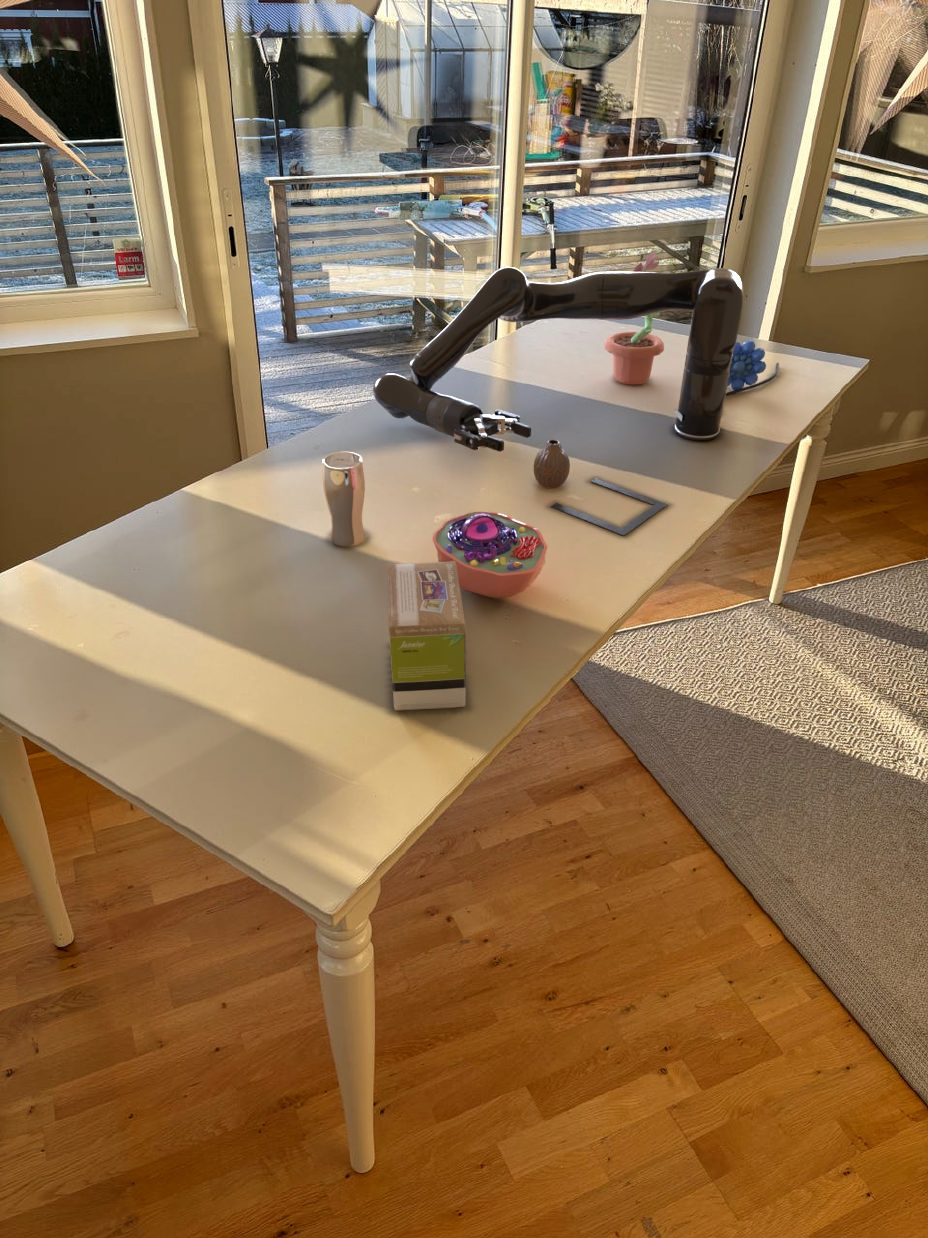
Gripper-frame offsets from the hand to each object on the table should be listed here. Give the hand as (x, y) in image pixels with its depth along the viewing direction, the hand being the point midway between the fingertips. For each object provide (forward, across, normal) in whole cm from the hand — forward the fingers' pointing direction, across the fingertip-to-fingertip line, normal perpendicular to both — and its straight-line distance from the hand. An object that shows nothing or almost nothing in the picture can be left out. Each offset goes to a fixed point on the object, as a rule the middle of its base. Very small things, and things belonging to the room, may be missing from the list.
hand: (516, 439), depth 180 cm
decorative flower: (-9, +57, +7) cm, 58 cm away
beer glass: (-6, -40, +7) cm, 41 cm away
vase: (+9, 0, +7) cm, 11 cm away
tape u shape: (+22, 0, +7) cm, 23 cm away
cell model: (+22, -35, +7) cm, 42 cm away
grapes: (+13, +68, +7) cm, 70 cm away
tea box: (+30, -59, +7) cm, 67 cm away
